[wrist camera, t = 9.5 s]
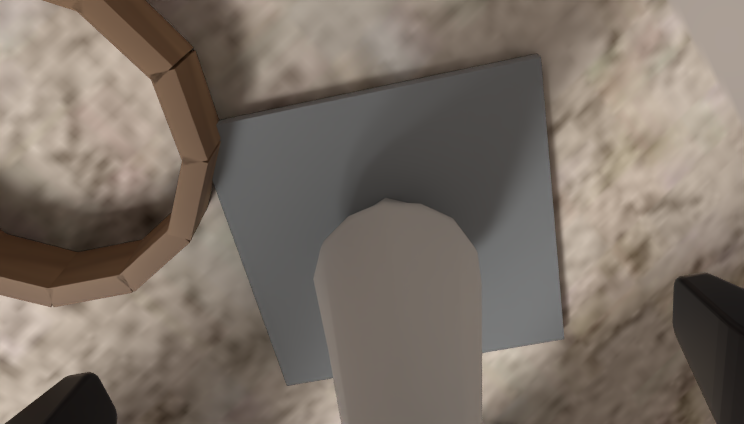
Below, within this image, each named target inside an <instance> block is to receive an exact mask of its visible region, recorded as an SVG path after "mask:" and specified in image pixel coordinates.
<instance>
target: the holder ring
mask: <svg viewBox="0 0 744 424" xmlns="http://www.w3.org/2000/svg"><path fill="white" fill-rule="evenodd" d="M43 1H46V2H50V3H53V4H56V5H59V6H62V7H65V8H69V9H72V10H75V11H77V12H78V13H79V14H80V15H82V16H83V17H84V18H85V19H86V20H87V21H88V22H89V23H90V24H91V25H92V26H93V27H95V28H96V29H97V30H98V31H99V32H100V33H101V34H102V35H103V36H104V37H105V38H106V39H108V40H109V41H110V42H111V43H112V44H113V45H114V46H115V47H116V48H117V49H118V50H119V51H120V52H122V53H123V54H124V55H125V56H126V57H127V58H128V59H129V60H130V61H131V62H132V63H133V64H135V65H136V66H137V67H138V68H139V69H140V70H141V71H142V72H143V73H144V74H145V75H146V76H148V77H149V78H150V79H151V81H152V83H153V86H154V89H155V91H156V94H157V96H158V99H159V102H160V104H161V107H162V109H163V112H164V115H165V117H166V120H167V123H168V125H169V128H170V130H171V133H172V136H173V138H174V141H175V144H176V146H177V149H178V151H179V154H180V157H181V159H182V164H181V169H180V174H179V179H178V184H177V189H176V194H175V199H174V204H173V209H172V213H171V214H169V215H168V216H167V217H166V218H165V219H164V220H163V221H162V222H161V223H160V224H159V225H158V226H156V227H155V228H154V229H153V230H152V231H151V232H150V233H149V234H148V235H147V236H146V237H145V238H143V239H142V240H138V241H133V242H127V243H122V244H117V245H112V246H107V247H102V248H97V249H91V250H86V251H81V252H75V251H71V250H67V249H63V248H59V247H55V246H51V245H48V244H44V243H40V242H36V241H32V240H28V239H24V238H20V237H16V236H12V235H9V234H6V233H5V232H3V231H2V230H0V295H3V296H7V297H11V298H15V299H19V300H24V301H28V302H32V303H36V304H40V305H44V306H48V307H51V306H52V305H53V306H54V307H58V306H63V305H69V304H74V303H79V302H85V301H90V300H95V299H101V298H106V297H111V296H117V295H122V294H128V293H132V292H133V291H136V290H137V289H138V288H139V287H140V286H141V285H142V284H144V283H145V282H146V281H147V280H148V279H149V278H150V277H151V276H153V275H154V274H155V273H156V272H157V271H158V270H159V269H160V268H162V267H163V266H164V265H165V264H166V263H167V262H168V261H169V260H171V259H172V258H173V257H174V256H175V255H176V254H177V253H179V252H180V251H181V250H182V249H183V248H184V247H185V246H186V245H188V244H189V243H190V241H191V239H192V237H193V235H194V233H195V231H196V229H197V227H198V225H199V223H200V221H201V219H202V217H203V215H204V213H205V211H206V210H207V208H208V203H209V199H210V194H211V190H212V186H213V181H212V178H213V174H214V169H215V165H216V161H217V156H218V152H219V147H220V143H221V141H219V140H220V139H221V138H220V135H219V132H218V129H217V126H216V124H217V123H218V121H219V118H218V115H217V112H216V110H215V107H214V104H213V101H212V98H211V95H210V92H209V89H208V86H207V83H206V80H205V77H204V74H203V71H202V68H201V66H200V63H199V60H198V57H197V54H196V51H191V50H192V49H193V47H192V46H191V45H190V44H189V43H188V42H187V41H186V40H185V39H184V38H183V37H182V36H181V35H180V34H179V33H178V32H177V31H176V30H175V29H174V28H173V27H172V26H171V25H170V24H169V23H168V22H167V21H166V20H165V19H164V18H163V17H162V16H161V15H160V14H159V13H158V12H157V11H156V10H155V9H154V8H153V7H152V6H151V5H150V4H148V3H147V2H146V1H145V0H43Z"/></svg>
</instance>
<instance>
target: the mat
mask: <svg viewBox="0 0 744 424" xmlns="http://www.w3.org/2000/svg"><path fill="white" fill-rule="evenodd" d="M216 126H217V129H218V132H219V135H220V138H221V139H220V140H219V141H221V143H220V147H219V152H218V156H217V161H216V165H215V169H214V174H213V178H212V181H213V183H214V186H215V189H216V192H217V194H218V197H219V200H220V203H221V205H222V208H223V211H224V214H225V216H226V219H227V222H228V225H229V227H230V230H231V233H232V236H233V238H234V241H235V244H236V247H237V249H238V252H239V255H240V258H241V260H242V263H243V266H244V269H245V271H246V274H247V277H248V280H249V282H250V285H251V288H252V291H253V293H254V296H255V299H256V302H257V304H258V307H259V310H260V313H261V315H262V318H263V321H264V324H265V326H266V329H267V332H268V335H269V337H270V340H271V343H272V346H273V349H274V351H275V354H276V357H277V360H278V362H279V365H280V368H281V371H282V373H283V376H284V379H285V382H286V384H287V386H289V385H295V384H301V383H307V382H313V381H319V380H325V379H330V378H333V374H332V368H331V363H330V357H329V351H328V346H327V342H326V337H325V332H324V327H323V323H322V318H321V313H320V308H319V304H318V299H317V294H316V289H315V285H314V280H313V278H314V274H315V270H316V266H317V261H318V257H319V253H320V249H321V246H322V244H323V242H324V240H325V239H326V238H327V237H328V236H329V235H330V234H331V233H332V232H333V231H334V230H335V229H336V228H337V227H338V226H339V225H340V224H341V223H342V222H343V221H344V220H345V219H346V218H347V217H348V216H350V215H352V214H355V213H357V212H359V211H362V210H364V209H366V208H369V207H371V206H374V205H375V204H377V203H378V202H380V201H381V200H383V199H384V198H389V199H393V200H398V201H402V202H406V203H419V204H423V205H425V206H427V207H429V208H431V209H434V210H436V211H438V212H440V213H443V214H445V215H447V216H449V217H451V218H453V219H454V220H455V222H456V223H457V224H458V226H459V227H460V228H461V230H462V231H463V232H464V234H465V235H466V236H467V238H468V239H469V240H470V242H471V243H472V244H473V246H474V247H475V249H476V251H477V253H478V260H479V267H480V275H481V282H482V353H485V352H491V351H497V350H503V349H508V348H514V347H520V346H526V345H532V344H538V343H544V342H550V341H556V340H562V339H564V329H563V317H562V305H561V293H560V281H559V269H558V257H557V245H556V233H555V221H554V209H553V197H552V185H551V173H550V161H549V149H548V137H547V125H546V113H545V101H544V89H543V77H542V65H541V57H540V56H539V55H538V54H534V55H529V56H524V57H519V58H514V59H510V60H505V61H500V62H495V63H491V64H486V65H481V66H476V67H471V68H467V69H462V70H457V71H452V72H448V73H443V74H438V75H433V76H429V77H424V78H419V79H414V80H409V81H405V82H400V83H395V84H390V85H386V86H381V87H376V88H371V89H366V90H362V91H357V92H352V93H347V94H343V95H338V96H333V97H328V98H323V99H319V100H314V101H309V102H304V103H300V104H295V105H290V106H285V107H280V108H276V109H271V110H266V111H261V112H257V113H252V114H247V115H242V116H238V117H233V118H228V119H223V120H219V121H218V123H217V124H216Z"/></svg>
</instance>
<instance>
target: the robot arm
mask: <svg viewBox="0 0 744 424" xmlns="http://www.w3.org/2000/svg"><path fill="white" fill-rule="evenodd" d="M673 328H674V332H675V335H676V338H677V340H678V342H679V344H680V346H681V348H682V351H683V353H684V355H685V357H686V359H687V361H688V364H689V366H690V368H691V370H692V372H693V374H694V376H695V379H696V381H697V383H698V385H699V387H700V389H701V391H702V394H703V396H704V398H705V400H706V402H707V404H708V407H709V409H710V411H711V413H712V415H713V417H714V419H715V421H716V423H717V424H744V289H743V288H741V287H738V286H736V285H734V284H732V283H729V282H727V281H725V280H723V279H720V278H718V277H716V276H714V275H711V274H709V273H696V274H690V275H684V276H680V277H678V278H677V279H676V280H675V283H674V297H673ZM5 424H117V413H116V409H115V406H114V405H113V403H112V401H111V399H110V397H109V395H108V394H107V392H106V390H105V388H104V386H103V384H102V383H101V381H100V379H99V377H98V376H97V375H96V374H94V373H91V372H87V373H81V374H74V375H70V376H67V377H65V378H63V379H62V380H61V381H60V382H58V383H57V384H56V385H54V386H53V387H52V388H50V389H49V390H48V391H47V392H45V393H44V394H43V395H41V396H40V397H39V398H37V399H36V400H35V401H34V402H32V403H31V404H30V405H28V406H27V407H26V408H25V409H23V410H22V411H21V412H19V413H18V414H17V415H15V416H14V417H13V418H12V419H10V420H9V421H8V422H6V423H5Z"/></svg>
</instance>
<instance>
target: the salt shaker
mask: <svg viewBox="0 0 744 424" xmlns="http://www.w3.org/2000/svg"><path fill="white" fill-rule="evenodd" d="M313 280H314V285H315V289H316V294H317V299H318V304H319V308H320V313H321V318H322V323H323V327H324V332H325V337H326V342H327V346H328V351H329V357H330V363H331V368H332V374H333V379H334V385H335V391H336V396H337V402H338V408H339V413H340V419H341V424H482V282H481V275H480V267H479V260H478V253H477V251H476V249H475V247H474V246H473V244H472V243H471V242H470V240H469V239H468V238H467V236H466V235H465V234H464V232H463V231H462V230H461V228H460V227H459V226H458V224H457V223H456V222H455V220H454V219H453V218H451V217H449V216H447V215H445V214H443V213H440V212H438V211H436V210H434V209H431V208H429V207H427V206H425V205H423V204H419V203H406V202H402V201H398V200H393V199H389V198H384V199H383V200H381V201H380V202H378V203H377V204H375V205H374V206H371V207H369V208H366V209H364V210H362V211H359V212H357V213H355V214H352V215H350V216H348V217H347V218H346V219H345V220H344V221H343V222H342V223H341V224H340V225H339V226H338V227H337V228H336V229H335V230H334V231H333V232H332V233H331V234H330V235H329V236H328V237H327V238H326V239H325V240H324V242H323V244H322V246H321V249H320V253H319V257H318V261H317V266H316V270H315V274H314V278H313Z"/></svg>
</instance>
